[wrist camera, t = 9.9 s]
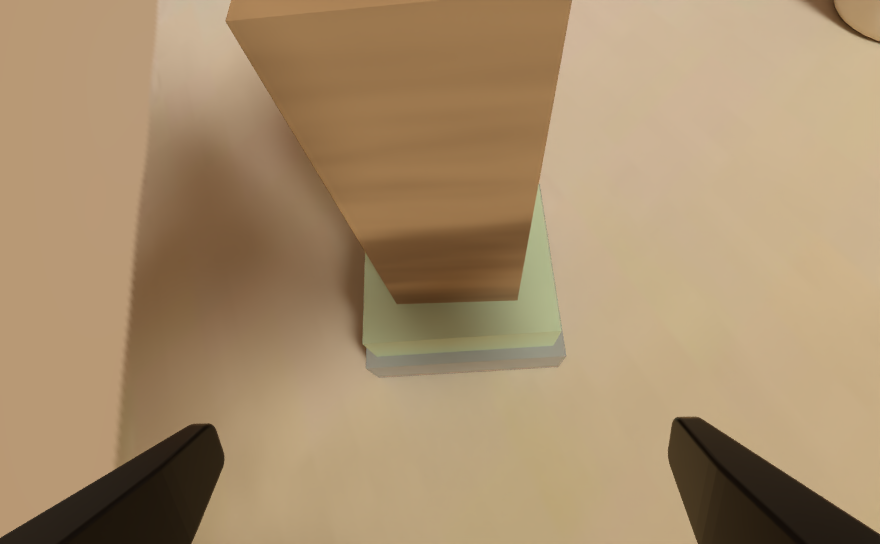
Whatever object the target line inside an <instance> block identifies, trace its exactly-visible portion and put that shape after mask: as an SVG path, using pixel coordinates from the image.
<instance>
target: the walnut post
mask: <svg viewBox="0 0 880 544" xmlns="http://www.w3.org/2000/svg"><path fill="white" fill-rule="evenodd" d="M571 3H572V0H231V3H230V7H229V11H228V14H227V18H226V23H227V24H228V26H229V28H230V29H231V31H232V33H233V34H234V36H235V38H236V39H237V41H238V43H239V44H240V46H241V48H242V49H243V51H244V53H245V54H246V56H247V58H248V59H249V61H250V62H251V64H252V66H253V67H254V69H255V71H256V72H257V74H258V76H259V77H260V79H261V81H262V82H263V84H264V86H265V87H266V89H267V91H268V92H269V94H270V96H271V97H272V99H273V100H274V102H275V104H276V105H277V107H278V109H279V110H280V112H281V114H282V115H283V117H284V119H285V120H286V122H287V124H288V125H289V127H290V129H291V130H292V132H293V134H294V135H295V137H296V138H297V140H298V142H299V143H300V145H301V147H302V148H303V150H304V152H305V153H306V155H307V157H308V158H309V160H310V162H311V163H312V165H313V167H314V168H315V170H316V172H317V173H318V175H319V176H320V178H321V180H322V181H323V183H324V185H325V186H326V188H327V190H328V191H329V193H330V195H331V196H332V198H333V200H334V201H335V203H336V205H337V206H338V208H339V210H340V211H341V213H342V214H343V216H344V218H345V219H346V221H347V223H348V224H349V226H350V228H351V229H352V231H353V233H354V234H355V236H356V238H357V239H358V241H359V243H360V244H361V246H362V248H363V249H364V251H365V252H366V254H367V256H368V257H369V259H370V261H371V262H372V264H373V266H374V267H375V269H376V271H377V272H378V274H379V276H380V277H381V279H382V281H383V282H384V284H385V286H386V287H387V289H388V290H389V292H390V294H391V295H392V297H393V299H394V300H395V302H396V304H421V303H452V302H484V301H515V300H518V295H519V289H520V283H521V278H522V272H523V267H524V261H525V256H526V250H527V245H528V239H529V234H530V228H531V223H532V217H533V212H534V206H535V201H536V195H537V190H538V184H539V179H540V173H541V168H542V162H543V157H544V151H545V146H546V140H547V135H548V129H549V124H550V118H551V113H552V107H553V102H554V96H555V91H556V85H557V80H558V74H559V69H560V63H561V58H562V52H563V47H564V41H565V36H566V30H567V25H568V19H569V14H570V8H571Z"/></svg>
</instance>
